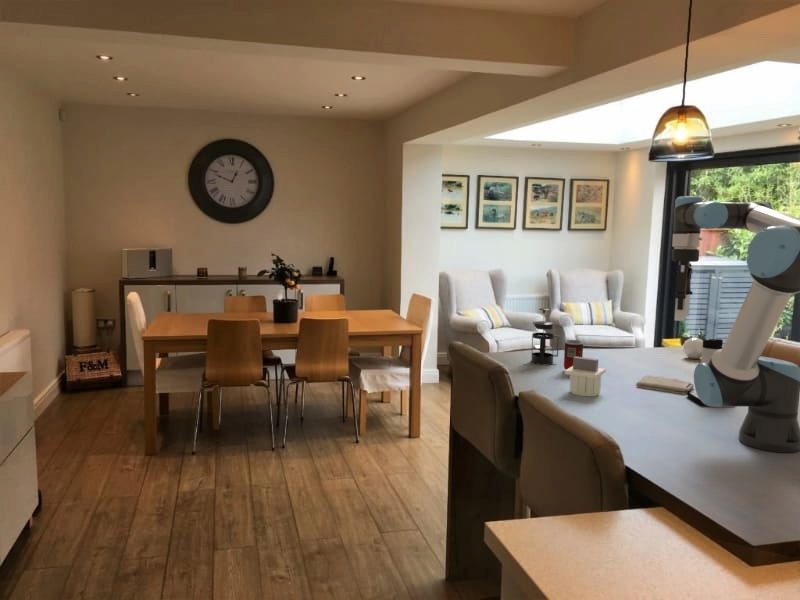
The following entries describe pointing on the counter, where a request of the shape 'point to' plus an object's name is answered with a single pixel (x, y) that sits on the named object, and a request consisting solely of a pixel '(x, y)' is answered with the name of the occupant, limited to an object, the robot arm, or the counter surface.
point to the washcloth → (665, 384)
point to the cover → (585, 368)
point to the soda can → (572, 352)
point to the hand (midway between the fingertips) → (681, 318)
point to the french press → (543, 342)
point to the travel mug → (710, 348)
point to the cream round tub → (585, 385)
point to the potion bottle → (693, 348)
